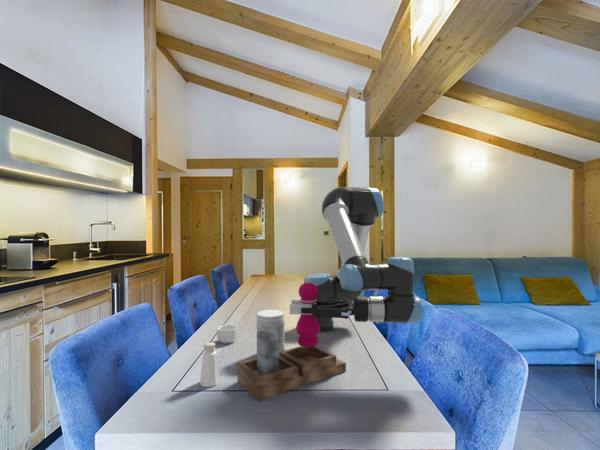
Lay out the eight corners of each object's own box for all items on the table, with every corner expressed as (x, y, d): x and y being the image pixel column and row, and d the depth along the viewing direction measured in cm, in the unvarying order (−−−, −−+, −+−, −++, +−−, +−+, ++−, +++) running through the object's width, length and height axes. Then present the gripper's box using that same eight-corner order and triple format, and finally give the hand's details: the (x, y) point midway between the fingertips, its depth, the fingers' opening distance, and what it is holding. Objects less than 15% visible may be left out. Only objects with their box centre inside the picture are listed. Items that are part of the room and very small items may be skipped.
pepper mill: (295, 339, 102) (295, 276, 103) (317, 339, 103) (318, 276, 103) (297, 348, 95) (297, 279, 95) (321, 347, 96) (322, 279, 96)
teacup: (233, 346, 120) (233, 331, 120) (213, 344, 122) (213, 330, 122) (241, 337, 130) (241, 323, 130) (223, 335, 131) (223, 322, 131)
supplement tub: (278, 348, 118) (278, 308, 118) (289, 358, 109) (289, 314, 110) (252, 353, 114) (253, 311, 114) (261, 363, 105) (262, 317, 105)
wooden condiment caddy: (320, 357, 110) (320, 314, 110) (345, 370, 100) (346, 323, 100) (237, 381, 92) (237, 330, 93) (258, 401, 82) (258, 343, 82)
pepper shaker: (212, 376, 96) (212, 339, 96) (223, 382, 92) (223, 343, 92) (195, 383, 92) (196, 343, 92) (207, 389, 88) (207, 348, 88)
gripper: (372, 331, 89) (287, 328, 91) (364, 313, 107) (293, 311, 109) (372, 303, 89) (287, 301, 91) (364, 290, 107) (293, 289, 109)
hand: (291, 306), depth 100 cm, fingers closed on pepper mill, 5 cm apart
